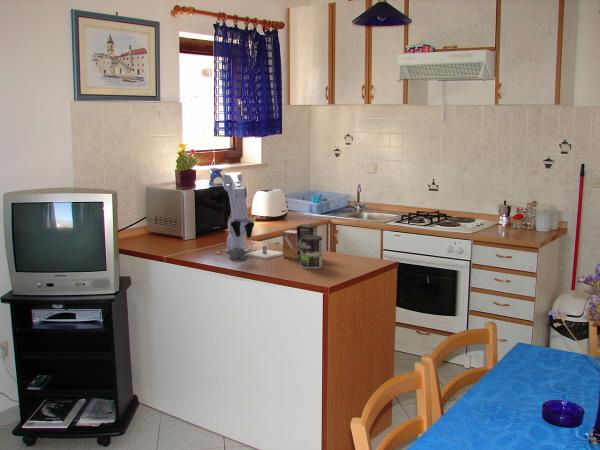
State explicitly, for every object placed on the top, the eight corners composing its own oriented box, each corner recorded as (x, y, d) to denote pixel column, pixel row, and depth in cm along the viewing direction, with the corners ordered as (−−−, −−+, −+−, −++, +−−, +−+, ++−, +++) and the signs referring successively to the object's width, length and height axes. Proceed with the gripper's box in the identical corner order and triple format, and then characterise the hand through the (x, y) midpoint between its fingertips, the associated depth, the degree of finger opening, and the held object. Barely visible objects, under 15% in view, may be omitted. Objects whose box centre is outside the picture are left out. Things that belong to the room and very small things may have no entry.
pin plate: (245, 256, 352) (245, 246, 351) (264, 251, 362) (263, 241, 362) (265, 259, 343) (265, 249, 342) (284, 254, 354) (283, 244, 353)
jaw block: (229, 258, 346) (229, 249, 345) (237, 257, 350) (236, 247, 349) (241, 261, 341) (240, 251, 340) (248, 259, 344) (248, 249, 344)
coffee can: (311, 270, 320) (311, 240, 317) (296, 266, 327) (295, 237, 324) (327, 266, 327) (326, 236, 324) (311, 263, 334) (311, 234, 332)
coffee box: (296, 258, 345) (295, 226, 342) (301, 255, 350) (300, 224, 348) (313, 259, 341) (313, 227, 338) (318, 256, 347) (317, 225, 344)
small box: (282, 257, 348) (282, 231, 346) (289, 254, 353) (289, 229, 351) (296, 258, 343) (296, 233, 341) (303, 256, 349) (302, 231, 347)
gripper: (236, 207, 338) (238, 234, 335) (257, 210, 349) (259, 236, 346) (226, 210, 342) (228, 237, 340) (247, 213, 353) (249, 239, 351)
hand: (243, 237), depth 343 cm, fingers open, 7 cm apart
